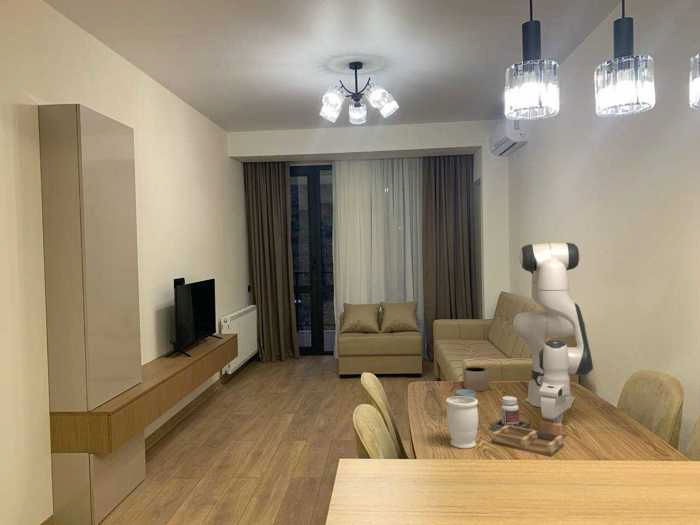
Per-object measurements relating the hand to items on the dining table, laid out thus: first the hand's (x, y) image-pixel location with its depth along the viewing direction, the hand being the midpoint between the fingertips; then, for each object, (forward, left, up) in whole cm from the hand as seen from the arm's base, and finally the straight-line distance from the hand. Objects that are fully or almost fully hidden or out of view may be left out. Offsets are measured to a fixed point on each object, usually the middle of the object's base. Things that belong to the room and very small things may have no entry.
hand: (557, 425), depth 186 cm
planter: (-37, -51, -2) cm, 63 cm away
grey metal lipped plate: (+9, 0, -2) cm, 9 cm away
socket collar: (+8, -14, -2) cm, 16 cm away
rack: (+20, -3, -2) cm, 20 cm away
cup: (+6, -33, -2) cm, 34 cm away
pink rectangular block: (+6, 0, -2) cm, 6 cm away
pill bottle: (+8, -14, -2) cm, 16 cm away
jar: (+32, -20, -2) cm, 38 cm away
